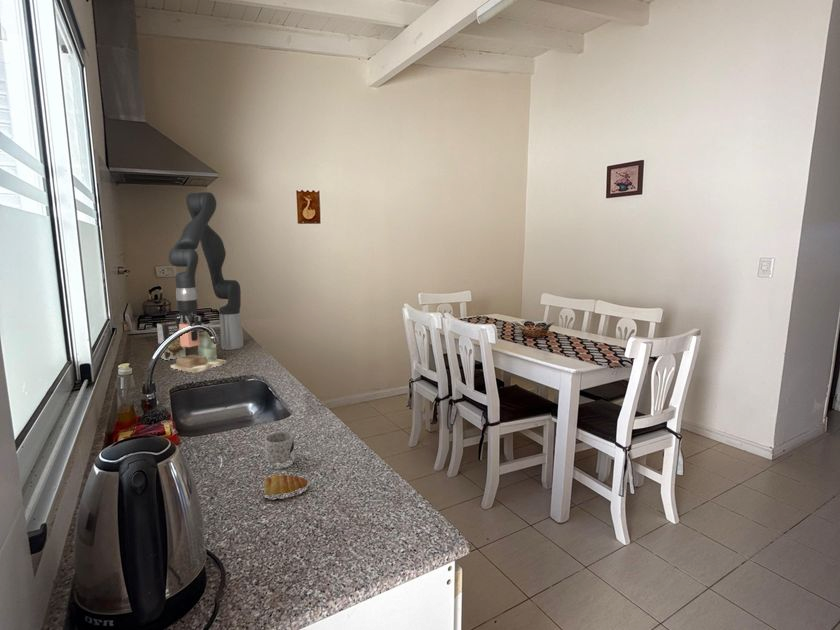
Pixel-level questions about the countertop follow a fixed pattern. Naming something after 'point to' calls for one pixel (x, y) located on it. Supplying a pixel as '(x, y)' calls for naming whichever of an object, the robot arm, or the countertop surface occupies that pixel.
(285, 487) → the pastry
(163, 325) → the coffee box
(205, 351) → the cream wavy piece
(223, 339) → the robot arm
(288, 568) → the countertop surface
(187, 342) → the brick block
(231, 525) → the countertop surface
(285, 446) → the mug
